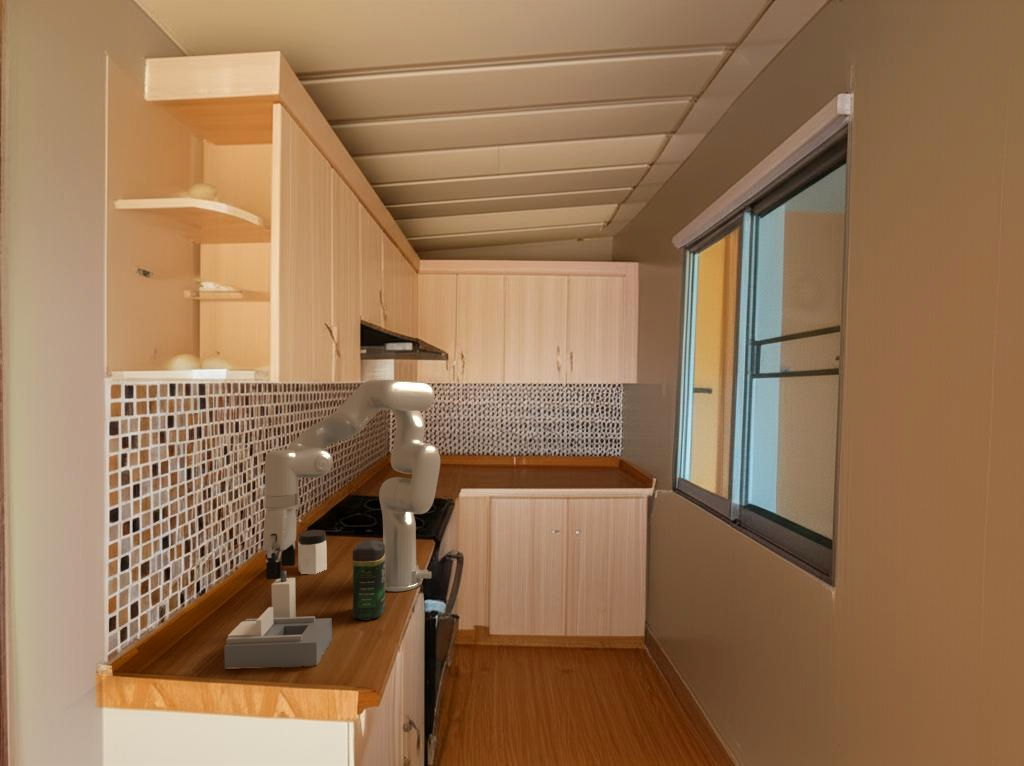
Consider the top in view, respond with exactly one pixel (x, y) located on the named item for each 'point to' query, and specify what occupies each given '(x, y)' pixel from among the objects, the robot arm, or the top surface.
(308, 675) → the top surface
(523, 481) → the top surface
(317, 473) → the robot arm
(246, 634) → the shutter
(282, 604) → the plug
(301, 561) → the jar
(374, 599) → the coffee jar
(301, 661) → the socket block
